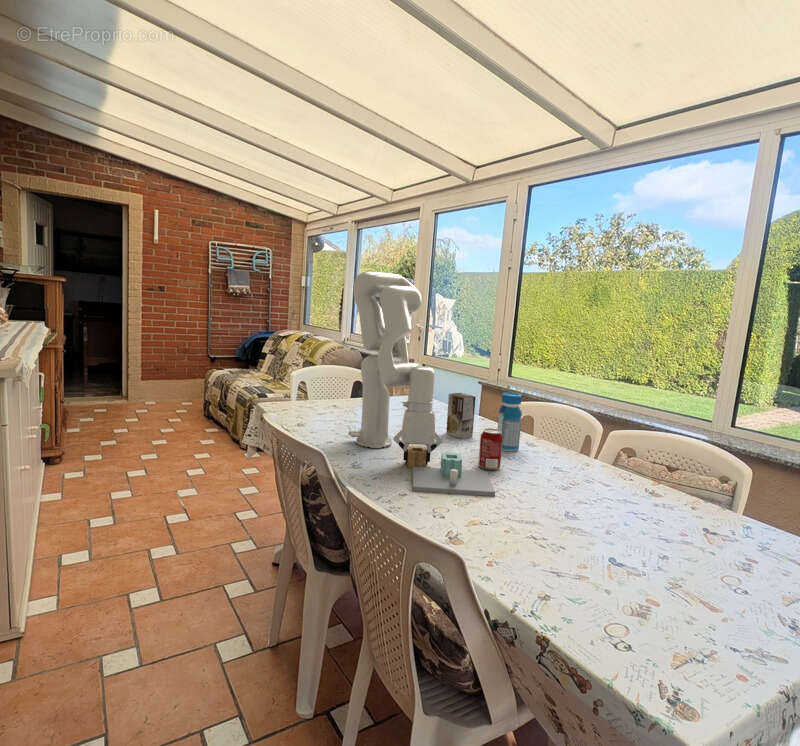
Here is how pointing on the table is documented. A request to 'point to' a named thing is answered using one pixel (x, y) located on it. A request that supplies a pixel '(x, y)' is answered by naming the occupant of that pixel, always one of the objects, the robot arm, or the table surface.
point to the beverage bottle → (510, 421)
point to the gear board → (443, 486)
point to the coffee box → (460, 415)
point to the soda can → (490, 449)
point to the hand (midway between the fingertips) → (416, 462)
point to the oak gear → (416, 456)
